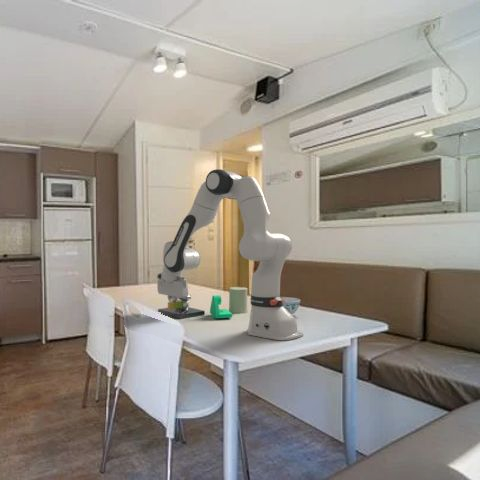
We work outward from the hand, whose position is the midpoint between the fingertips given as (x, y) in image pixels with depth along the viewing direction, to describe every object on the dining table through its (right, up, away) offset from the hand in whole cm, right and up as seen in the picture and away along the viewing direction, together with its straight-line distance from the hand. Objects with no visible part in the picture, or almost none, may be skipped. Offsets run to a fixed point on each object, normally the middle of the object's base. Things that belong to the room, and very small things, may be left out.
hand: (172, 305), depth 193 cm
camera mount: (+23, -5, -2) cm, 23 cm away
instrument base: (+4, -5, +4) cm, 7 cm away
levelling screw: (+3, -2, -1) cm, 4 cm away
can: (+31, -5, +11) cm, 33 cm away
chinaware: (+52, -5, +2) cm, 53 cm away
